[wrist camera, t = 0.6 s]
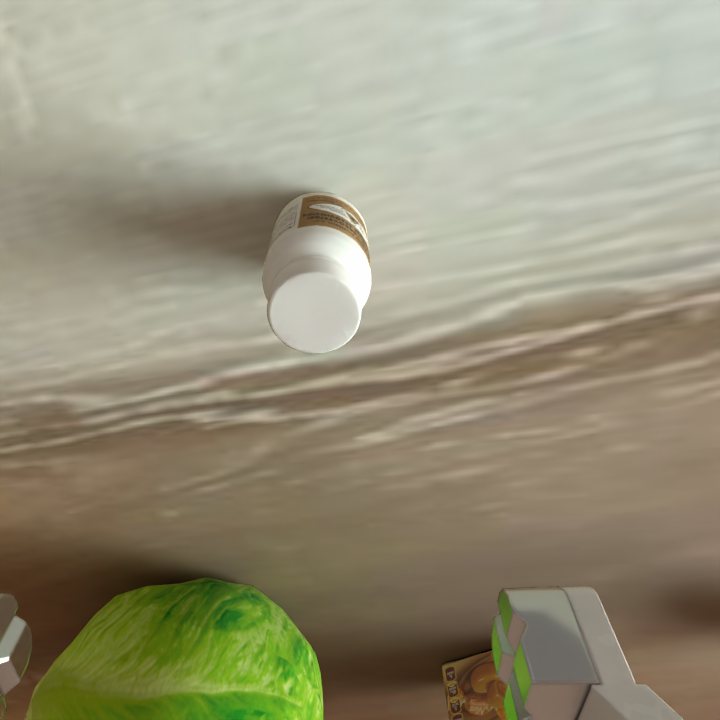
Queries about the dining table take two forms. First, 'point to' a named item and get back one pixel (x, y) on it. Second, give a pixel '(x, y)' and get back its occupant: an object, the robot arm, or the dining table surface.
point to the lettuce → (184, 660)
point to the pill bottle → (317, 273)
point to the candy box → (474, 689)
